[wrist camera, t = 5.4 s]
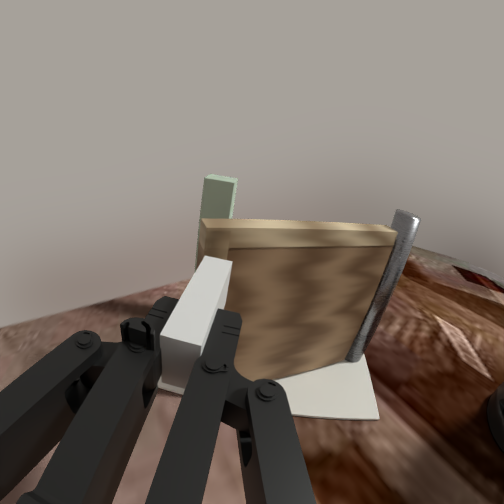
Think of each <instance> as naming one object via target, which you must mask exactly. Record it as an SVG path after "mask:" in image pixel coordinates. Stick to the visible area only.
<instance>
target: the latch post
mask: <svg viewBox="0 0 504 504" xmlns="http://www.w3.org/2000/svg"><path fill="white" fill-rule="evenodd" d="M237 182H238V179H237V178H231V177H226V176H220V175H213V174H210V175H208V176H207V177H205V178H204V185H203V194H202V202H201V211H200V220H199V230H198V241H197V252H196V263H195V272H196V265H197V254H198V243H199V233H200V223H201V218H210V219H232V215H233V208H234V201H235V195H236V189H237Z"/></svg>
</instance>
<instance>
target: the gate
mask: <svg viewBox="0 0 504 504" xmlns="http://www.w3.org/2000/svg"><path fill="white" fill-rule="evenodd" d="M397 234H398V232H397V231H395V230H394V229H392V228H390V227H389V226H387V225H372V224H356V223H337V222H315V221H291V220H290V221H289V220H258V219H210V218H201V223H200V233H199V243H198V254H197V265H196V270H197V268H198V267H199V265H200V263H201V262H202V260H203V258H204V257H205V256H210V257H214V258H219V259H223V260H228V261H233V262H232V268H231V274H230V280H229V286H228V292H227V298H226V303H225V307H224V310H228V311H232V312H237V313H240V316H241V318H242V326H241V331H240V335H239V340H238V345H237V349H236V354H235V358H234V366H235V368H236V370H237V372H238V373H239V374H241V375H242V376H243V377H245V378H247V379H249V380H251V381H255V380H257V379H271V380H273V379H277V378H281V377H285V376H289V375H293V374H297V373H301V372H305V371H309V370H312V369H316V368H319V367H323V366H326V365H330V364H333V363H336V362H340V361H343V360H344V359H345V357H346V355H347V353H348V351H349V349H350V347H351V345H352V343H353V341H354V339H355V337H356V335H357V333H358V331H359V329H360V326H361V324H362V322H363V320H364V318H365V315H366V313H367V311H368V309H369V306H370V304H371V302H372V299H373V297H374V295H375V292H376V290H377V287H378V285H379V282H380V280H381V277H382V275H383V272H384V270H385V267H386V264H387V262H388V259H389V256H390V254H391V251H392V248H393V245H394V242H395V239H396V237H397Z"/></svg>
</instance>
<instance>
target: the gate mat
mask: <svg viewBox="0 0 504 504" xmlns="http://www.w3.org/2000/svg"><path fill="white" fill-rule="evenodd" d="M273 381H276V382H278V383H279V384H280V385H281V386H282V387H283V388H284V390H285V392H286V395H287V399H288V402H289V406H290V410H291V413H292V416H302V417H312V418H325V419H342V420H379V419H380V418H379V413H378V409H377V404H376V400H375V395H374V391H373V387H372V383H371V379H370V375H369V371H368V367H367V363H366V359H365V356H364V354H363V356H362V357H361V359H360V361H358V362H356V363H352V362H348V361H346V360H345V359H344V360H343V361H340V362H336V363H333V364H330V365H326V366H323V367H319V368H316V369H312V370H309V371H305V372H301V373H297V374H293V375H289V376H285V377H281V378H277V379H273ZM158 388H160V389H164V390H167V391H171V392H174V393H178V394H182V395H183V394H184V391H185V389H183V388H179V387H176V386H172V385H169V384H166V383H162V380H161V377H160V379H159V381H158Z"/></svg>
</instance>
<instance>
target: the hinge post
mask: <svg viewBox="0 0 504 504" xmlns="http://www.w3.org/2000/svg"><path fill="white" fill-rule="evenodd" d="M420 221H421V219H420V218H419V217H418V216H416V215H414V214H412V213H409V212H407V211H403V210H399V209H397V210H396V212H395V215H394V219H393V222H392V225H391V228H392V229H394V230H395V231H397V232H398V234H397V237H396V239H395V242H394V245H393V248H392V251H391V254H390V256H389V259H388V262H387V264H386V267H385V270H384V272H383V275H382V277H381V280H380V282H379V285H378V287H377V290H376V292H375V295H374V297H373V299H372V302H371V304H370V306H369V309H368V311H367V313H366V315H365V318H364V320H363V322H362V324H361V326H360V329H359V331H358V333H357V335H356V337H355V339H354V341H353V343H352V345H351V347H350V349H349V351H348V353H347V355H346V357H345V360H346V361H348V362H352V363H356V362H358V361H360V359H361V357H362V356H363V354H364V352H365V350H366V348H367V346H368V344H369V342H370V340H371V339H372V337H373V335H374V333H375V331H376V329H377V327H378V325H379V322H380V320H381V318H382V316H383V314H384V312H385V310H386V308H387V306H388V303H389V301H390V299H391V297H392V294H393V292H394V290H395V287H396V285H397V283H398V280H399V278H400V276H401V273H402V271H403V268H404V266H405V263H406V260H407V258H408V255H409V253H410V250H411V247H412V244H413V242H414V239H415V236H416V233H417V230H418V227H419V224H420Z"/></svg>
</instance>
